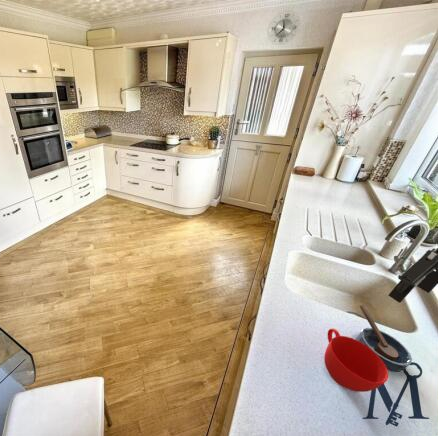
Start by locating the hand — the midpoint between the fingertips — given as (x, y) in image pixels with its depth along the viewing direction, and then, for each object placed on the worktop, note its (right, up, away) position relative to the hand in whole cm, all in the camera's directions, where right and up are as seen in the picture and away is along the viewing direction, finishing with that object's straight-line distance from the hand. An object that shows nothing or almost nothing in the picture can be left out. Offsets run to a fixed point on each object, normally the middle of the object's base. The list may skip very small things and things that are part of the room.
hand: (409, 293), depth 68 cm
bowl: (0, -22, +9) cm, 24 cm away
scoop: (0, -20, +12) cm, 23 cm away
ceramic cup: (-18, -24, +4) cm, 31 cm away
